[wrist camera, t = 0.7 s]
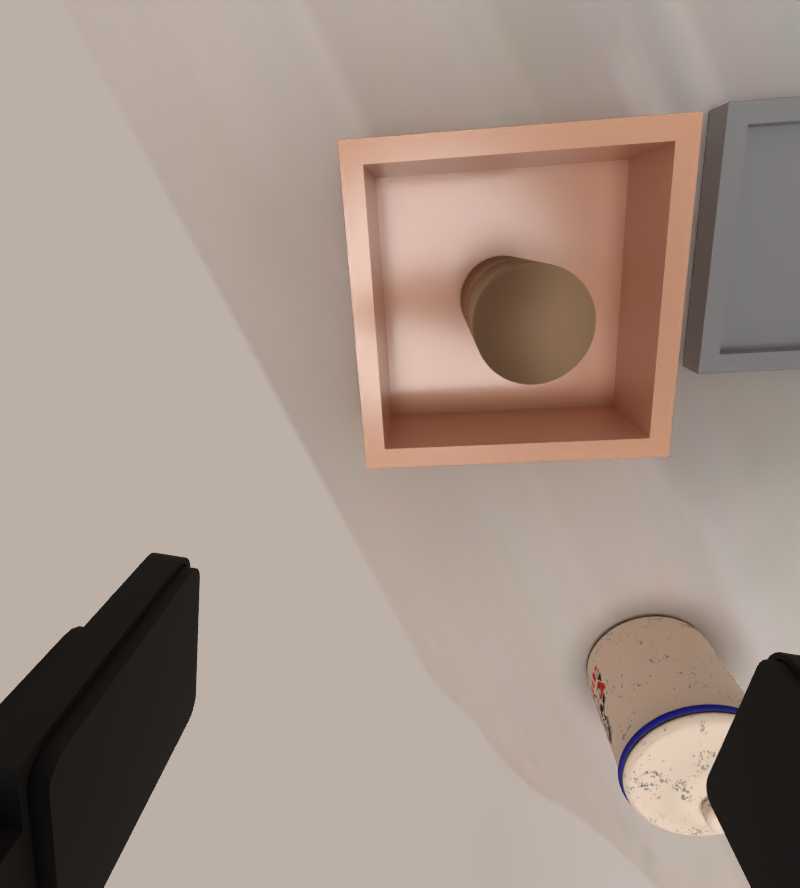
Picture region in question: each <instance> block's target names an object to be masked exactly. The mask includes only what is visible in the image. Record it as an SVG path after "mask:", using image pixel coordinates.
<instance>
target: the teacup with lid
mask: <svg viewBox="0 0 800 888" xmlns="http://www.w3.org/2000/svg"><path fill="white" fill-rule="evenodd" d="M587 680H588V684H589V687H590V690H591V693H592V695H593V698H594V701H595V704H596V707H597V709H598V712H599V715H600V718H601V721H602V724H603V726H604V729H605V732H606V735H607V738H608V740H609V743H610V746H611V749H612V752H613V755H614V757H615V760H616V763H617V766H618V779H619V784H620V787H621V790H622V792H623V794H624V796H625V797H626V799H627V800H628V802H629V803H630V804H631V805H632V807H633V808H634V809H635V810H636V811H637V812H638V813H639V814H640V815H641V816H642V817H643V818H645V819H646V820H647V821H649V822H650V823H652V824H654V825H656V826H658V827H660V828H662V829H665V830H667V831H670V832H674V833H678V834H684V835H695V836H704V835H715V834H722V835H725V833H724V831H723V829H722V827H721V825H720V823H719V821H718V819H717V817H716V815H715V813H714V811H713V809H712V807H711V805H710V802H709V800H708V796H707V790H706V783H707V778H708V775H709V773H710V770H711V768H712V766H713V764H714V762H715V759H716V757H717V755H718V753H719V750H720V748H721V746H722V744H723V742H724V739H725V737H726V735H727V733H728V730H729V728H730V726H731V724H732V722H733V719H734V717H735V715H736V713H737V710H738V708H739V706H740V704H741V702H742V699H743V697H744V695H745V694H744V693H743V691H742V690H741V688H740V687H739V686H738V684H737V683H736V681H735V680H734V678H733V677H732V675H731V674H730V673H729V671H728V670H727V668H726V667H725V665H724V664H723V662H722V661H721V659H720V658H719V657H718V655H717V654H716V652H715V651H714V649H713V648H712V646H711V645H710V644H709V642H708V641H707V639H706V638H705V637H704V636H703V635H702V634H701V633H700V632H699V631H698V630H697V629H695V628H694V627H692V626H691V625H689V624H687V623H685V622H682V621H680V620H677V619H673V618H668V617H656V616H654V617H643V618H638V619H634V620H630V621H627V622H625V623H623V624H620V625H618V626H617V627H615V628H613V629H612V630H610V631H609V632H608V633H607V634H605V635H604V636H603V637H602V638H601V639H600V640H599V641H598V643H597V644H596V645H595V647H594V648H593V650H592V652H591V654H590V657H589V660H588V664H587Z"/></svg>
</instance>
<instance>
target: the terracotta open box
mask: <svg viewBox="0 0 800 888" xmlns="http://www.w3.org/2000/svg"><path fill="white" fill-rule="evenodd" d="M702 121H703V111H700V112H688V113H675V114H663V115H650V116H637V117H625V118H612V119H600V120H587V121H574V122H562V123H549V124H536V125H524V126H511V127H499V128H486V129H473V130H461V131H448V132H436V133H423V134H410V135H398V136H385V137H372V138H360V139H347V140H338V150H339V162H340V173H341V184H342V196H343V207H344V218H345V230H346V241H347V252H348V264H349V275H350V286H351V298H352V309H353V320H354V332H355V343H356V354H357V366H358V377H359V388H360V400H361V411H362V422H363V434H364V445H365V456H366V468H391V467H417V466H442V465H468V464H493V463H519V462H545V461H570V460H596V459H622V458H647V457H669V450H670V440H671V430H672V420H673V410H674V400H675V390H676V380H677V370H678V360H679V350H680V340H681V330H682V320H683V310H684V300H685V290H686V280H687V270H688V260H689V251H690V241H691V231H692V221H693V211H694V201H695V191H696V181H697V171H698V161H699V151H700V141H701V131H702ZM494 256H512V257H517V258H522V259H527V260H533V261H538V262H543V263H548V264H552V265H556V266H559V267H562V268H564V269H566V270H568V271H569V272H571V273H573V274H574V275H575V276H576V277H578V278H579V279H580V280H581V281H582V283H583V284H584V285H585V286H586V288H587V289H588V291H589V293H590V295H591V297H592V299H593V303H594V306H595V312H596V327H595V333H594V337H593V340H592V343H591V345H590V347H589V349H588V351H587V353H586V354H585V356H584V357H583V359H582V360H581V361H580V362H579V363H578V364H577V366H575V367H574V368H573V369H572V370H571V371H570V372H568V373H567V374H565V375H564V376H562V377H560V378H558V379H556V380H553V381H551V382H547V383H543V384H536V385H525V384H518V383H515V382H511V381H509V380H507V379H504V378H503V377H501V376H499V375H498V374H496V373H495V372H494V371H493V370H492V369H491V368H490V367H489V366H488V365H487V364H486V363H485V361H484V360H483V358H482V356H481V354H480V353H479V350H478V348H477V346H476V343H475V341H474V339H473V336H472V334H471V332H470V330H469V327H468V325H467V323H466V320H465V318H464V316H463V313H462V309H461V304H460V295H461V289H462V286H463V283H464V281H465V279H466V277H467V275H468V274H469V273H470V271H471V270H472V269H473V268H474V267H475V266H476V265H478V264H479V263H480V262H482V261H484V260H486V259H488V258H491V257H494Z"/></svg>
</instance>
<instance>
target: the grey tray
mask: <svg viewBox="0 0 800 888" xmlns="http://www.w3.org/2000/svg"><path fill="white" fill-rule="evenodd" d="M683 366H684V367H686V368H688V369H690V370H692V371H694V372H696V373H698V374H703V373H724V372H744V371H765V370H786V369H800V97H788V98H775V99H763V100H750V101H738V102H728V103H726V104H724V105H722V106H720V107H718V108H715V109H713V110H711V111H709V121H708V130H707V140H706V150H705V159H704V169H703V179H702V188H701V198H700V208H699V217H698V227H697V237H696V246H695V256H694V266H693V275H692V285H691V295H690V304H689V314H688V324H687V333H686V343H685V353H684V362H683Z"/></svg>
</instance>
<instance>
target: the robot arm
mask: <svg viewBox="0 0 800 888" xmlns="http://www.w3.org/2000/svg"><path fill="white" fill-rule="evenodd" d="M199 575H200V574H199V570H198V569H195V568H190V562H189V560H188V559H187V558H185V557H178V556H172V555H166V554H159V553H151V554H150V555H149V556H147V558H146V559H145V560H144V561H143V562H142V563H141V564H140V565H139V567H138V568H137V569H136V570H135V571H134V572H133V573H132V574H131V576H130V577H128V579H127V580H126V581H125V582H124V583H123V584H122V585H121V586H120V587H119V589H118V590H117V591H116V592H115V593H114V594H113V595H112V596H111V597H110V599H109V600H108V601H107V602H106V603H105V604H104V605H103V606H102V607H101V609H100V610H99V611H98V612H97V613H96V614H95V615H94V616H93V617H92V618H91V620H90V621H89V622H88V623H87V624H86V625H85V626H84V627H81V626H79V627H76V628H73V629H71V630H70V631H69V632H68V633H67V634H65V635H64V636H63V638H61V639H60V641H59V642H58V643H57V644H56V645H55V646H54V647H53V648H52V649H51V650H50V651H49V652H48V654H47V655H46V656H45V657H44V658H43V659H42V660H41V661H40V662H39V663H38V664H37V665H36V666H35V667H34V668H33V669H32V671H31V672H30V673H29V674H28V675H27V676H26V677H25V678H24V679H23V680H22V681H21V682H20V683H19V684H18V686H17V687H16V688H15V689H14V690H13V691H12V692H11V693H10V694H9V695H8V696H7V697H6V698H5V699H4V701H3V702H2V703H1V704H0V888H104V886H105V884H106V882H107V880H108V878H109V876H110V874H111V872H112V870H113V868H114V866H115V864H116V862H117V860H118V858H119V857H120V854H121V853H122V851H123V849H124V847H125V845H126V843H127V841H128V839H129V837H130V835H131V833H132V831H133V829H134V827H135V825H136V823H137V821H138V819H139V817H140V815H141V813H142V811H143V809H144V807H145V805H146V803H147V802H148V799H149V798H150V795H151V794H152V791H153V790H154V788H155V786H156V784H157V782H158V780H159V778H160V776H161V774H162V772H163V770H164V768H165V766H166V764H167V762H168V760H169V758H170V756H171V754H172V752H173V750H174V748H175V746H176V745H177V743H178V741H179V739H180V736H181V735H182V732H183V730H184V729H185V727H186V724H187V723H188V721H189V719H190V716H191V714H192V711H193V706H194V703H195V697H196V671H197V641H198V613H199V583H200V576H199ZM706 790H707V796H708V800H709V802H710V805H711V807H712V809H713V811H714V813H715V815H716V817H717V819H718V821H719V823H720V825H721V827H722V829H723V831H724V833H725V835H726V837H727V839H728V841H729V844H730V846H731V848H732V850H733V852H734V854H735V856H736V858H737V860H738V862H739V864H740V866H741V868H742V870H743V872H744V874H745V876H746V878H747V880H748V882H749V884H750V886H751V888H800V655H794V654H788V653H781V652H778V653H774V654H772V655H771V656H769V658H768V659H767V660H763V661H761V662H760V663H759V665H758V666H757V668H756V671H755V673H754V675H753V677H752V679H751V682H750V684H749V686H748V688H747V691H746V693H745V695H744V697H743V699H742V702H741V704H740V706H739V708H738V710H737V713H736V715H735V717H734V719H733V722H732V724H731V726H730V728H729V730H728V733H727V735H726V737H725V739H724V742H723V744H722V746H721V748H720V750H719V753H718V755H717V757H716V759H715V762H714V764H713V766H712V768H711V770H710V773H709V775H708V778H707V783H706Z"/></svg>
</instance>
